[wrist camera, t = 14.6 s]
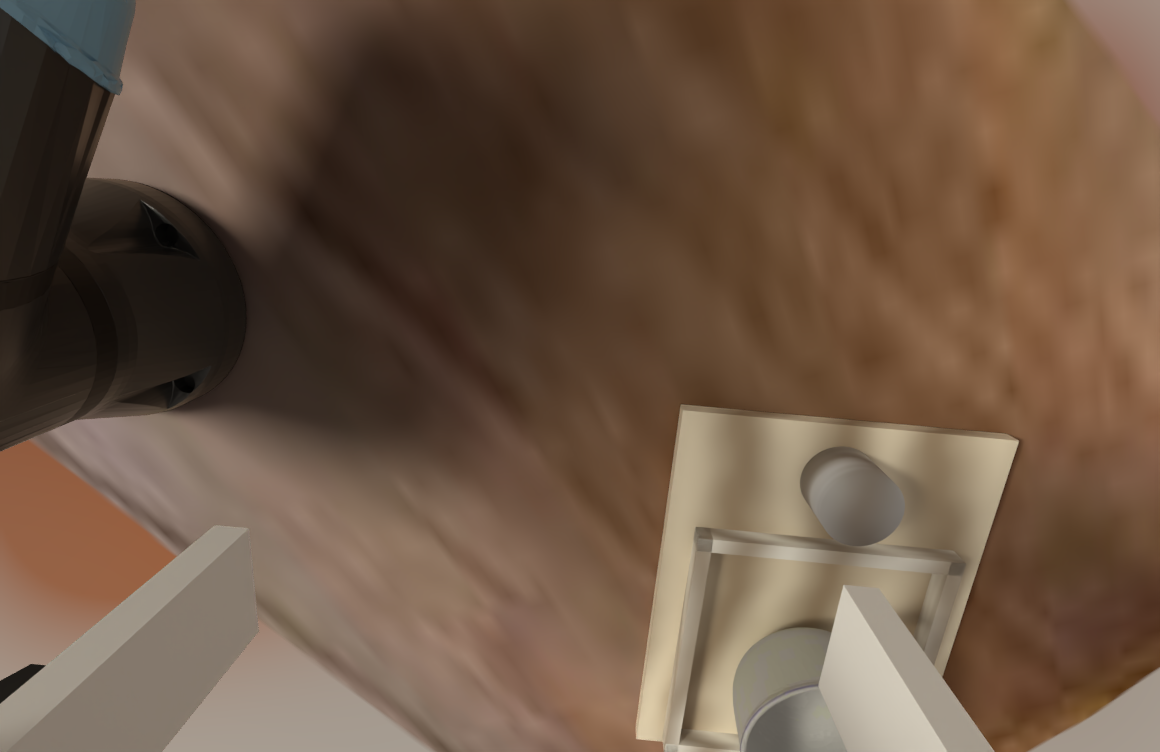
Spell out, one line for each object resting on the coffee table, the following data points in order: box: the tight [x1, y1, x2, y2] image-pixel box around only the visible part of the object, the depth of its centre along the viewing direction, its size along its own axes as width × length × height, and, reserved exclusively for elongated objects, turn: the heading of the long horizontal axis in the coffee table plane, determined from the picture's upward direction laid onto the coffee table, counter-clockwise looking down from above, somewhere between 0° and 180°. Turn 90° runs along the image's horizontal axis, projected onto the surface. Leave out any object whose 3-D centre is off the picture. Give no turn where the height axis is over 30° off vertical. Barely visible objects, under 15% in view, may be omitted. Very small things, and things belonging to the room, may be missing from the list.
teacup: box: [733, 627, 847, 752], centre depth 40 cm, size 14×11×8 cm
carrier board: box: [636, 404, 1019, 752], centre depth 41 cm, size 22×28×5 cm
